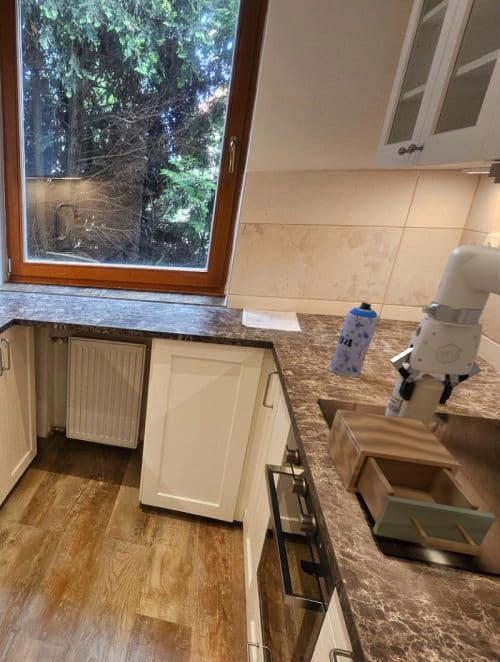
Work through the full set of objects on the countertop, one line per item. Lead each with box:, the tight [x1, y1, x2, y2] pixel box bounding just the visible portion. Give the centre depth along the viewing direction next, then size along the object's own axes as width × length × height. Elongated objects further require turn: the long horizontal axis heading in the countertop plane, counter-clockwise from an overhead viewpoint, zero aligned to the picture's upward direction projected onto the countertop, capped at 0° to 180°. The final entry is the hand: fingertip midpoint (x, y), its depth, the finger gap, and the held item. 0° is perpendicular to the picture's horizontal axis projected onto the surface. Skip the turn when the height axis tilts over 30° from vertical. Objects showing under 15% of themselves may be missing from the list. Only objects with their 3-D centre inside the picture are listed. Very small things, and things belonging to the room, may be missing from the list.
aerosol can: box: [328, 302, 379, 378], centre depth 131 cm, size 8×8×20 cm
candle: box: [398, 374, 445, 427], centre depth 96 cm, size 6×6×10 cm
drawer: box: [355, 455, 496, 557], centre depth 75 cm, size 20×14×7 cm
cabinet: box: [325, 409, 461, 494], centre depth 89 cm, size 16×15×9 cm
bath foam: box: [384, 362, 440, 417], centre depth 106 cm, size 7×7×20 cm
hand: (421, 399), depth 96 cm, fingers closed on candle, 5 cm apart
